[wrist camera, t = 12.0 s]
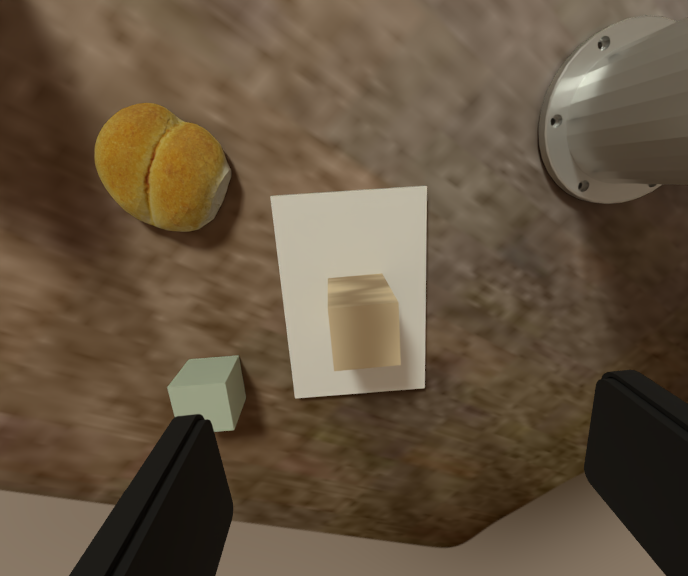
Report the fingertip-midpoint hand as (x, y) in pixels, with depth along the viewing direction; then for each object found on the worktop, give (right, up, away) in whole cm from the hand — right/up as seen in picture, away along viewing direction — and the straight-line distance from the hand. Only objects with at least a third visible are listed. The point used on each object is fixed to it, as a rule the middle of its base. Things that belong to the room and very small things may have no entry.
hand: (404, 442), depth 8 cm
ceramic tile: (-1, +3, +22) cm, 22 cm away
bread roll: (-15, +13, +18) cm, 27 cm away
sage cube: (-13, -5, +24) cm, 28 cm away
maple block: (0, +3, +21) cm, 21 cm away
